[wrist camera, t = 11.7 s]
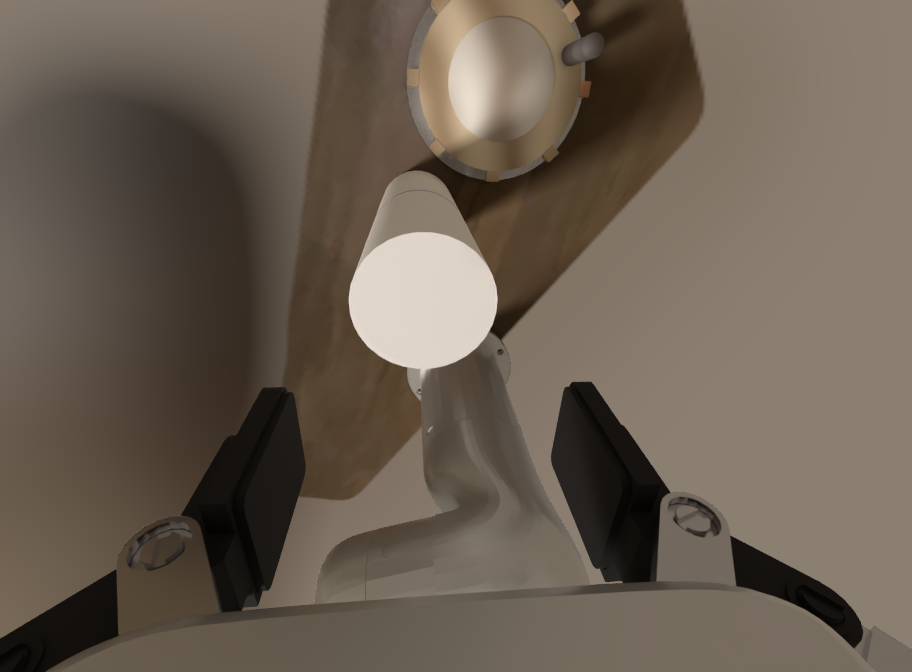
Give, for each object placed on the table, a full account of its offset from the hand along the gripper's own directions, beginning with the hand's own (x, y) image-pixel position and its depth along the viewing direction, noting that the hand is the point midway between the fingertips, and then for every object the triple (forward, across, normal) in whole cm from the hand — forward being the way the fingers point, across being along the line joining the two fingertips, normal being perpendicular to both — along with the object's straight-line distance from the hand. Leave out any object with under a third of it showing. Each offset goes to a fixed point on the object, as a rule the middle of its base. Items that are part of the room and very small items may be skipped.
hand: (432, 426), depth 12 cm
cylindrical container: (+34, 0, 0) cm, 34 cm away
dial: (+33, -7, -11) cm, 35 cm away
